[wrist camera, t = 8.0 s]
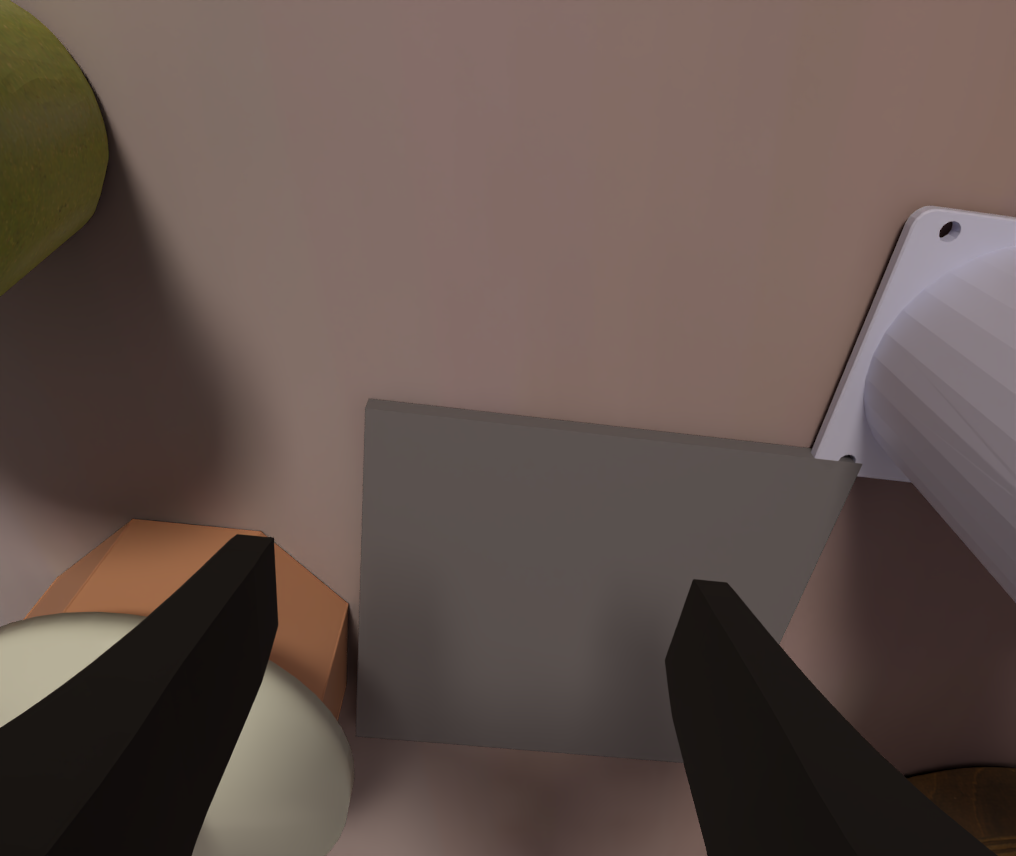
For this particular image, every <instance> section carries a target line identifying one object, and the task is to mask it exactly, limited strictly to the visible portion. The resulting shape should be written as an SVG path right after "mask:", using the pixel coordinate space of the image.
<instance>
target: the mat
mask: <svg viewBox="0 0 1016 856" xmlns="http://www.w3.org/2000/svg"><path fill="white" fill-rule="evenodd" d="M811 450H812V448H804V447H795V446H787V445H778V444H769V443H760V442H751V441H742V440H733V439H724V438H715V437H706V436H698V435H689V434H680V433H671V432H662V431H653V430H644V429H635V428H626V427H617V426H609V425H600V424H591V423H582V422H573V421H564V420H555V419H546V418H537V417H528V416H520V415H511V414H502V413H493V412H484V411H475V410H466V409H457V408H448V407H439V406H431V405H422V404H413V403H404V402H395V401H386V400H377V399H368V402H367V405H366V408H365V432H364V467H363V501H362V536H361V570H360V605H359V639H358V674H357V708H356V736H358V737H370V738H382V739H395V740H407V741H419V742H432V743H444V744H456V745H469V746H481V747H493V748H506V749H518V750H530V751H543V752H555V753H567V754H580V755H592V756H604V757H617V758H629V759H641V760H654V761H666V762H678V763H684V762H683V759H682V755H681V751H680V747H679V743H678V739H677V735H676V731H675V727H674V723H673V719H672V713H671V706H670V699H669V692H668V684H667V675H666V667H665V658H666V655H667V652H668V649H669V646H670V644H671V641H672V638H673V635H674V632H675V629H676V627H677V624H678V621H679V618H680V615H681V612H682V609H683V607H684V604H685V601H686V598H687V595H688V592H689V589H690V587H691V584H692V581H693V579H698V580H708V581H718V582H727V583H728V584H729V585H730V586H731V587H732V588H733V590H734V591H735V592H736V593H737V594H738V596H739V597H740V598H741V599H742V600H743V602H744V603H745V604H746V605H747V607H748V608H749V609H750V610H751V611H752V613H753V614H754V615H755V616H756V618H757V619H758V620H759V621H760V622H761V624H762V625H763V626H764V627H765V628H766V630H767V631H768V632H769V633H770V635H771V636H772V637H773V638H774V639H775V641H776V642H777V643H778V644H780V641H781V639H782V637H783V635H784V633H785V631H786V629H787V626H788V624H789V622H790V620H791V618H792V616H793V613H794V611H795V609H796V607H797V605H798V603H799V600H800V598H801V596H802V594H803V592H804V590H805V587H806V585H807V583H808V581H809V579H810V577H811V574H812V572H813V570H814V568H815V566H816V564H817V562H818V559H819V557H820V555H821V553H822V551H823V549H824V546H825V544H826V542H827V540H828V538H829V536H830V533H831V531H832V529H833V527H834V525H835V523H836V520H837V518H838V516H839V514H840V512H841V510H842V507H843V505H844V503H845V501H846V499H847V497H848V495H849V492H850V490H851V488H852V486H853V484H854V482H855V479H856V477H857V475H858V473H859V471H860V469H861V466H862V464H860V463H855V462H854V460H853V459H852V458H851V457H850V455H845V456H843V457H841V458H840V460H839V461H833V460H824V459H816V458H814V456H813V455H812V453H811ZM823 467H824V468H823ZM825 467H827V469H826V468H825ZM832 469H833V470H832ZM825 470H826V471H825Z"/></svg>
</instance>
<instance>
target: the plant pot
mask: <svg viewBox="0 0 1016 856" xmlns="http://www.w3.org/2000/svg"><path fill="white" fill-rule="evenodd" d="M108 159H109V151H108V140H107V134H106V129H105V125H104V122H103V118H102V115H101V112H100V109H99V106H98V104H97V101H96V98H95V96H94V94H93V91H92V89H91V87H90V85H89V83H88V82H87V80H86V78H85V77H84V75H83V73H82V71H81V70H80V68H79V66H78V65H77V64H76V62H75V61H74V60H73V58H72V57H71V55H70V54H69V53H68V51H67V50H66V49H65V47H64V46H63V45H62V44H61V42H60V41H59V40H58V39H57V38H56V37H55V36H54V35H53V33H52V32H51V31H50V30H49V29H48V28H47V27H46V26H44V25H43V24H42V23H41V22H40V21H39V20H38V19H36V18H35V17H34V16H33V15H31V14H30V13H29V12H27V11H25V10H24V9H22V8H21V7H19V6H18V5H16V4H14V3H13V2H11V1H10V0H0V296H2V295H3V294H4V293H5V292H6V291H7V290H9V289H10V288H11V287H12V286H13V285H15V284H16V283H17V282H18V281H19V280H20V279H22V278H23V277H24V276H25V275H26V274H27V273H29V272H30V271H31V270H32V269H33V268H35V267H36V266H37V265H38V264H39V263H40V262H42V261H43V260H44V259H45V258H46V257H47V256H49V255H50V254H51V253H52V252H53V251H55V250H56V249H57V248H58V247H59V246H60V245H62V244H63V243H64V242H65V241H66V240H68V239H69V238H70V237H71V236H72V235H74V234H75V233H76V232H77V231H78V230H80V229H81V228H82V227H83V226H84V225H85V224H86V223H87V222H88V220H89V219H90V218H91V217H92V215H93V214H94V212H95V210H96V206H97V203H98V201H99V198H100V195H101V190H102V186H103V182H104V178H105V173H106V168H107V164H108Z"/></svg>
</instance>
